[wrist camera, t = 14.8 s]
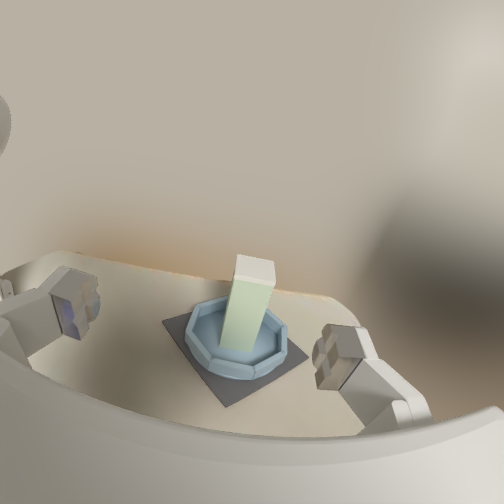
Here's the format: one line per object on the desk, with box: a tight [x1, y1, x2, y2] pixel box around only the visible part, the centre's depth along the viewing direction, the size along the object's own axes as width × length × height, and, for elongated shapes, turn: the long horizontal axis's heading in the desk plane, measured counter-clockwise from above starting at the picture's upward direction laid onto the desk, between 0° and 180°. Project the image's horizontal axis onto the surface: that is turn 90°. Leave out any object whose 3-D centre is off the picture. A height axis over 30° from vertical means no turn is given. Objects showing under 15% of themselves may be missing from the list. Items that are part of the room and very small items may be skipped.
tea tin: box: [219, 254, 276, 353], centre depth 43 cm, size 6×6×15 cm
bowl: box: [185, 296, 287, 381], centre depth 46 cm, size 17×17×3 cm
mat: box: [162, 312, 309, 408], centre depth 47 cm, size 20×19×1 cm
